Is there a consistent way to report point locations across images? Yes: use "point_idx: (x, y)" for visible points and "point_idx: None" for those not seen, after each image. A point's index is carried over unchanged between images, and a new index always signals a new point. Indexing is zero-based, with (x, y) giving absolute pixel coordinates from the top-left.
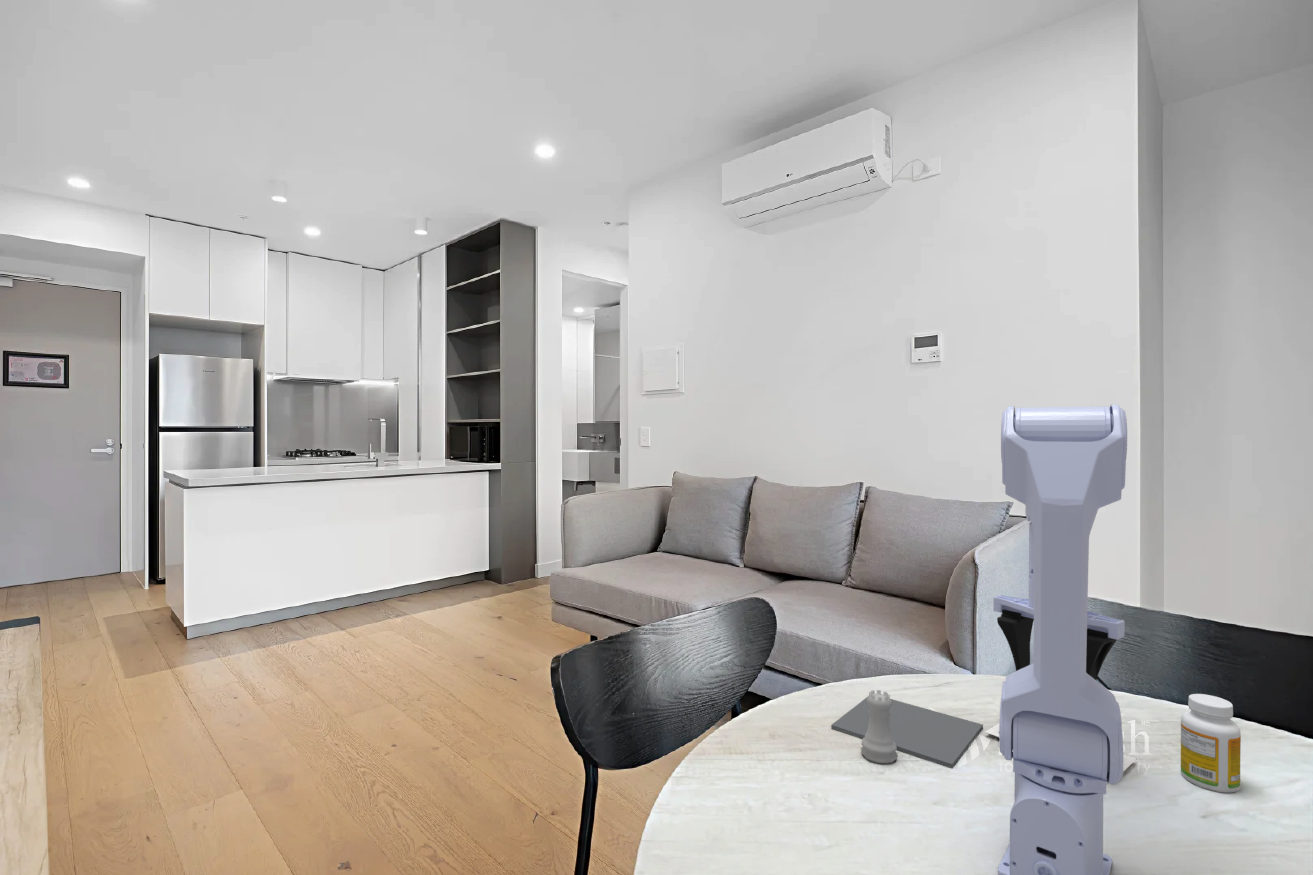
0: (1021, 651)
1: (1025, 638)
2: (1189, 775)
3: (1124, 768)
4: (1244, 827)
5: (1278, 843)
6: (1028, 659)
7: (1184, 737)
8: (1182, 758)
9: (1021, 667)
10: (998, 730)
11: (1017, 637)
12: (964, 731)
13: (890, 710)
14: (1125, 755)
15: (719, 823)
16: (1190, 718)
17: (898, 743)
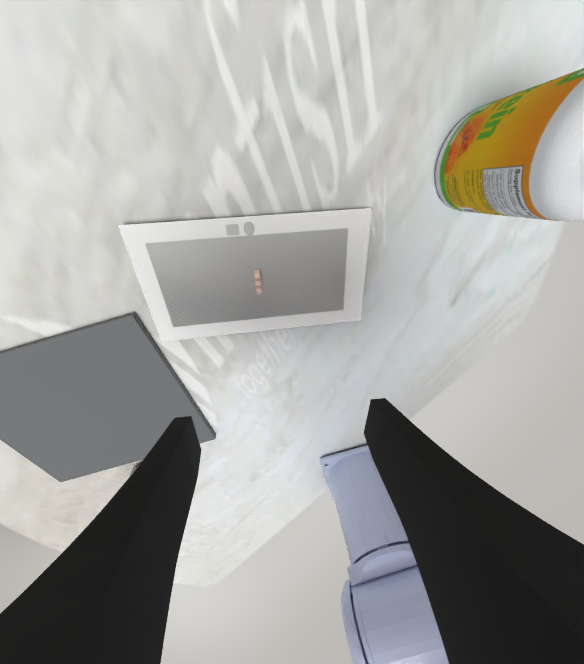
0: (175, 523)
1: (146, 575)
2: (453, 206)
3: (363, 271)
4: (493, 286)
5: (520, 292)
6: (180, 451)
7: (504, 201)
8: (460, 191)
9: (197, 467)
10: (167, 317)
11: (162, 632)
12: (144, 363)
13: (22, 400)
14: (353, 212)
15: (195, 568)
16: (571, 197)
17: (143, 453)
